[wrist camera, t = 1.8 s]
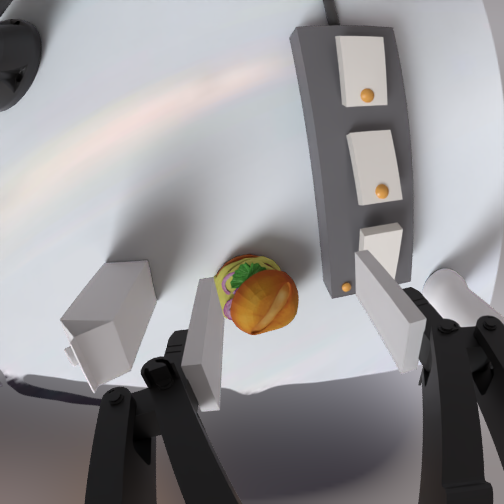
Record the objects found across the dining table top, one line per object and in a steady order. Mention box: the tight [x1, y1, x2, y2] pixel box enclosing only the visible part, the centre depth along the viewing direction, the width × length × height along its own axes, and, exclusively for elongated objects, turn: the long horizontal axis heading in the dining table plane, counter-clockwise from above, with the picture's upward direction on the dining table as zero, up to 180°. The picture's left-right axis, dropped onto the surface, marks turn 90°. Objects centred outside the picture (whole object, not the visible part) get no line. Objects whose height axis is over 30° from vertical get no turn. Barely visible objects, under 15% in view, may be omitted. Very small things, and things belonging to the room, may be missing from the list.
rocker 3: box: [359, 222, 403, 280], centre depth 37 cm, size 8×5×2 cm, turn 10°
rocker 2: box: [346, 130, 403, 205], centre depth 32 cm, size 8×5×2 cm, turn 10°
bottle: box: [422, 269, 504, 327], centre depth 33 cm, size 8×8×30 cm
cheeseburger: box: [214, 254, 298, 335], centre depth 42 cm, size 10×11×10 cm
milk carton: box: [60, 260, 157, 393], centre depth 36 cm, size 7×7×19 cm
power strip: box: [290, 0, 413, 299], centre depth 35 cm, size 40×12×6 cm, turn 10°
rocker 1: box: [335, 36, 387, 107], centre depth 28 cm, size 8×5×2 cm, turn 10°
